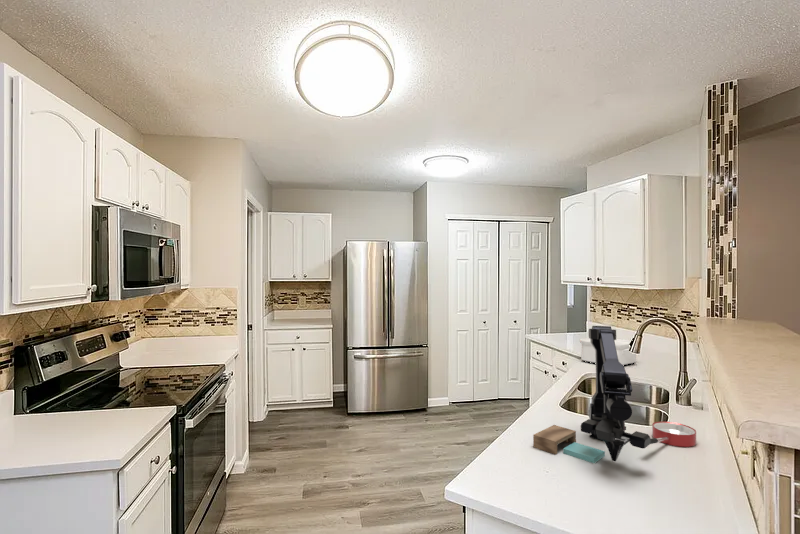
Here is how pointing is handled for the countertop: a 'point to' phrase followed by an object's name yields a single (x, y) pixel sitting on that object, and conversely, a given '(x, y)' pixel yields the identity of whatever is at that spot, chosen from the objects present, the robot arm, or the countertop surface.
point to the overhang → (553, 438)
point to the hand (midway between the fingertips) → (614, 460)
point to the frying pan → (673, 434)
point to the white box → (621, 349)
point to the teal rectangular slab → (584, 452)
